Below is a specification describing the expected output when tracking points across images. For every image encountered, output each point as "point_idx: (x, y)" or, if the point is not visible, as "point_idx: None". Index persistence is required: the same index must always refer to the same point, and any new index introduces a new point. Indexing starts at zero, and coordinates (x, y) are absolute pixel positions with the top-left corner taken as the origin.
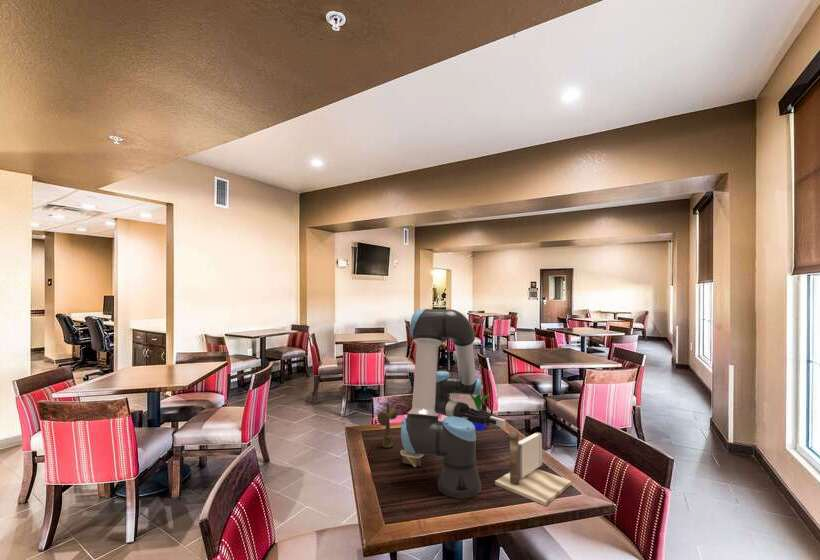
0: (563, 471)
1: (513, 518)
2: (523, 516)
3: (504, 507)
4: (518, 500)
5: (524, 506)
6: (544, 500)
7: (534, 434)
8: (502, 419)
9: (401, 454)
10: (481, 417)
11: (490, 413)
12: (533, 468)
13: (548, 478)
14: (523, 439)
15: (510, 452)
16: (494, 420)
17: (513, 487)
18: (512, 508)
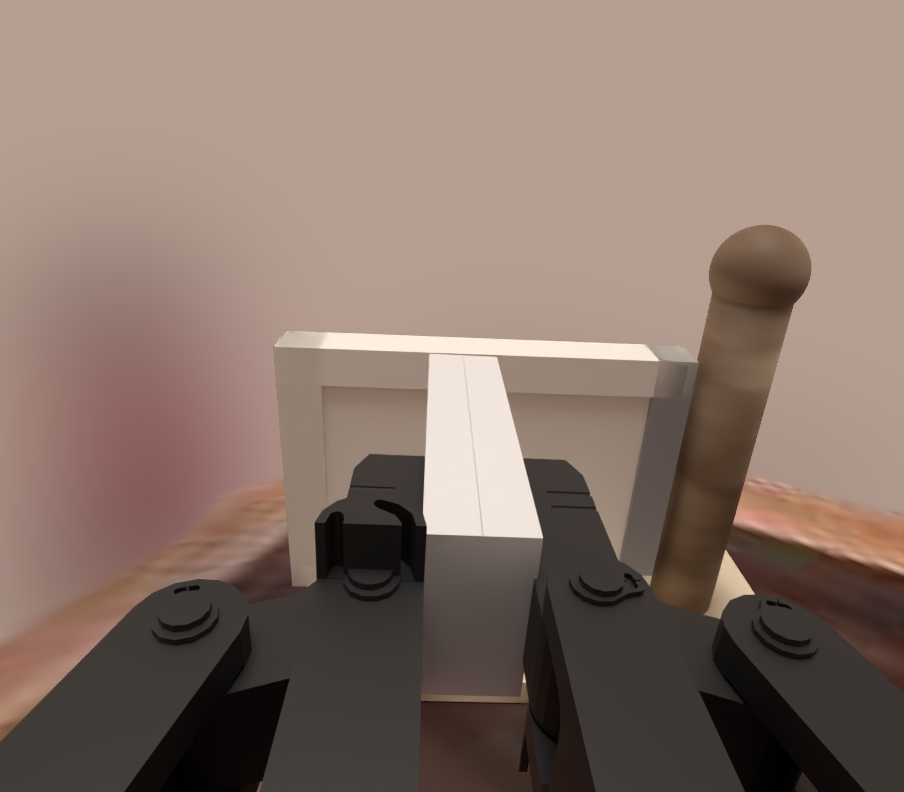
0: (245, 517)
1: (883, 513)
2: (823, 498)
3: (886, 562)
4: (761, 547)
5: (766, 517)
6: None
7: (355, 344)
8: (450, 372)
9: None
10: (861, 709)
11: (62, 719)
12: None
13: None
14: (547, 355)
15: (764, 408)
16: (552, 470)
17: (729, 577)
18: (843, 539)
